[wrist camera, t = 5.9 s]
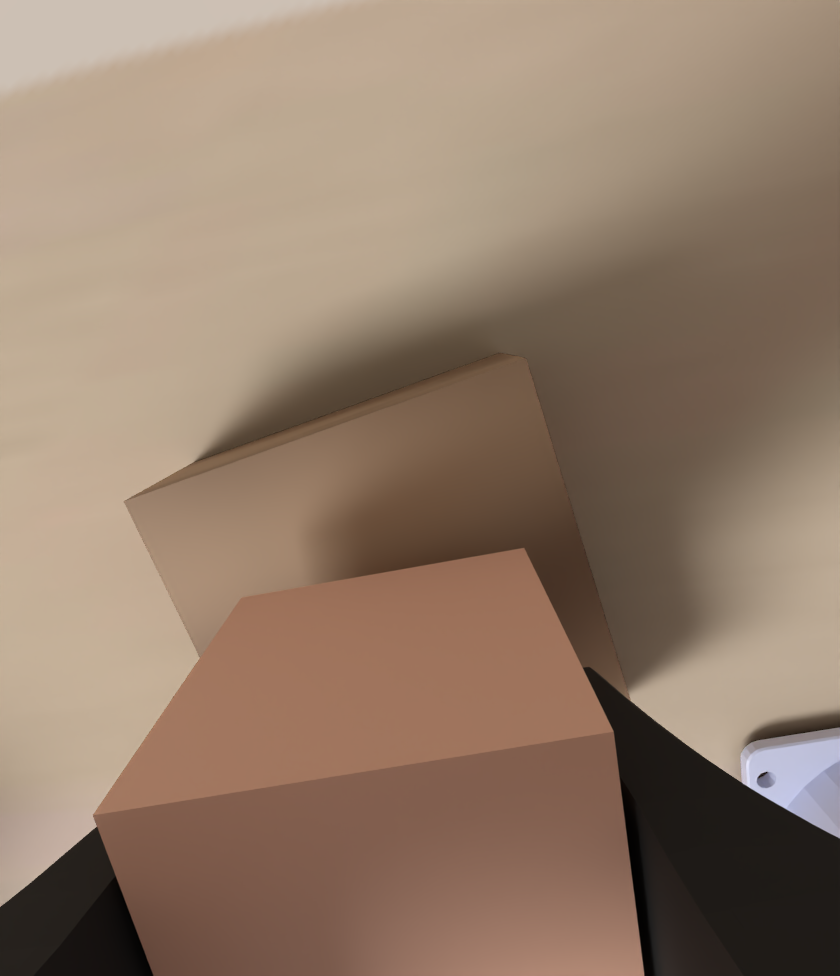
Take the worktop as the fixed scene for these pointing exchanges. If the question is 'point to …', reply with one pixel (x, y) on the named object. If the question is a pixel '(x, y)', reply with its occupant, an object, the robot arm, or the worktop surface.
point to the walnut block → (379, 503)
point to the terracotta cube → (381, 790)
